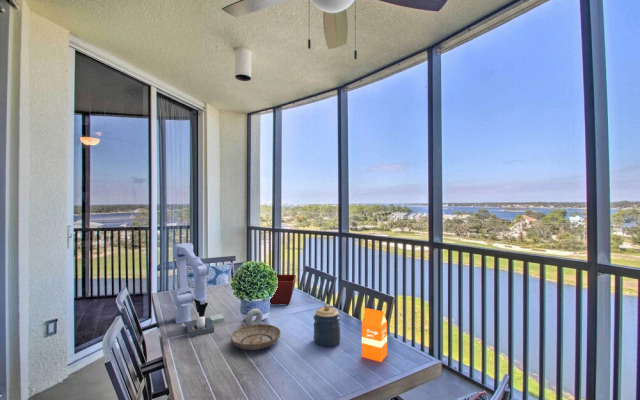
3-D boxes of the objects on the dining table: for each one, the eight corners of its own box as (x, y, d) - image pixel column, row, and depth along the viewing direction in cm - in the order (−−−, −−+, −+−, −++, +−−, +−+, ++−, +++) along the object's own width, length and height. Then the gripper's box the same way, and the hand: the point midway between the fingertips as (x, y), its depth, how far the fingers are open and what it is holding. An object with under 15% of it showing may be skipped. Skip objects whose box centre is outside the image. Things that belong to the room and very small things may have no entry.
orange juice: (381, 362, 125) (380, 314, 125) (361, 356, 130) (361, 310, 130) (387, 354, 132) (387, 308, 132) (368, 349, 136) (368, 305, 137)
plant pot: (293, 307, 194) (293, 281, 195) (263, 307, 195) (264, 281, 195) (295, 298, 213) (295, 274, 214) (269, 298, 214) (269, 274, 214)
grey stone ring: (247, 330, 157) (247, 311, 157) (244, 328, 159) (244, 310, 160) (263, 325, 164) (263, 307, 164) (260, 323, 166) (260, 305, 167)
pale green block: (209, 319, 172) (209, 316, 172) (221, 317, 176) (221, 314, 176) (211, 323, 166) (211, 320, 166) (224, 321, 170) (224, 317, 170)
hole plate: (185, 326, 163) (185, 321, 163) (208, 322, 169) (208, 317, 169) (189, 337, 149) (189, 332, 149) (214, 332, 155) (214, 327, 155)
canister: (309, 345, 140) (309, 307, 141) (319, 334, 152) (319, 299, 153) (335, 350, 136) (335, 311, 136) (343, 338, 148) (343, 302, 148)
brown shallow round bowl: (288, 336, 150) (288, 326, 150) (265, 359, 128) (265, 347, 128) (248, 330, 158) (248, 321, 158) (220, 350, 135) (220, 339, 136)
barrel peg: (195, 330, 157) (195, 317, 157) (203, 329, 159) (203, 315, 159) (197, 333, 154) (197, 319, 154) (205, 331, 156) (205, 318, 156)
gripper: (211, 290, 153) (210, 317, 152) (206, 284, 165) (206, 308, 165) (196, 292, 149) (196, 319, 149) (192, 285, 162) (192, 311, 161)
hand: (200, 314), depth 157 cm, fingers open, 7 cm apart
